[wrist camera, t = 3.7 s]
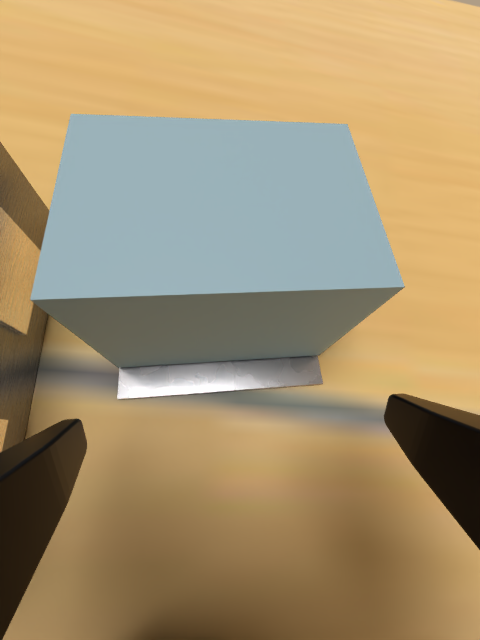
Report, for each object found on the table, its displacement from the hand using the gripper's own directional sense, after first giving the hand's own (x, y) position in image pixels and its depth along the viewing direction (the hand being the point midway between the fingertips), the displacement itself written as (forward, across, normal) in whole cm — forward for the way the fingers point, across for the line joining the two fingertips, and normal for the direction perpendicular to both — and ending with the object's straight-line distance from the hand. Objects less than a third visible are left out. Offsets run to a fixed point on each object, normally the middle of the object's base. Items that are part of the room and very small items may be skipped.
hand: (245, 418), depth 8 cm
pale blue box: (+14, 0, -1) cm, 14 cm away
